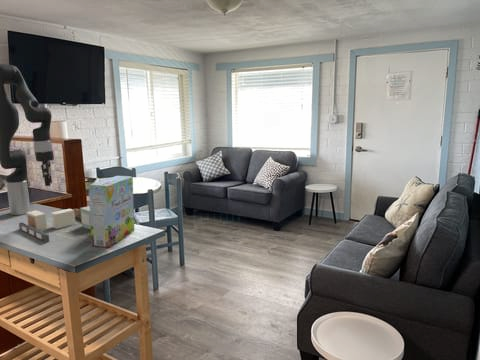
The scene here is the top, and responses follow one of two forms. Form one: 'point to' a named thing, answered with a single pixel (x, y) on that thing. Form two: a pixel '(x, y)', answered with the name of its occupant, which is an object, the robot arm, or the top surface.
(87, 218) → the sage tea tin
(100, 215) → the snack box
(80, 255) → the top surface
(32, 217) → the faced twin box
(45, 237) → the rail
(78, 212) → the shelf back lip
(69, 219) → the box
